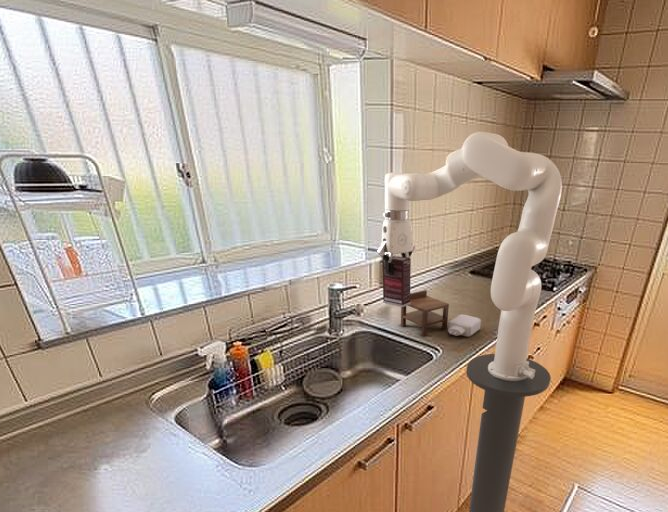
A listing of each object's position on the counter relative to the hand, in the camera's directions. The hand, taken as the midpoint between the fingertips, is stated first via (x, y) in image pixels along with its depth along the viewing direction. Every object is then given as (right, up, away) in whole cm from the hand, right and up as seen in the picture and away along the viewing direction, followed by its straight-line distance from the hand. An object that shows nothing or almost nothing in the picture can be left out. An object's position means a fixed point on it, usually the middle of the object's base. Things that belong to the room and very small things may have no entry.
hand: (396, 272), depth 140 cm
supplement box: (0, -10, +5) cm, 11 cm away
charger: (+22, -19, +16) cm, 34 cm away
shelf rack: (+9, -17, +19) cm, 27 cm away
